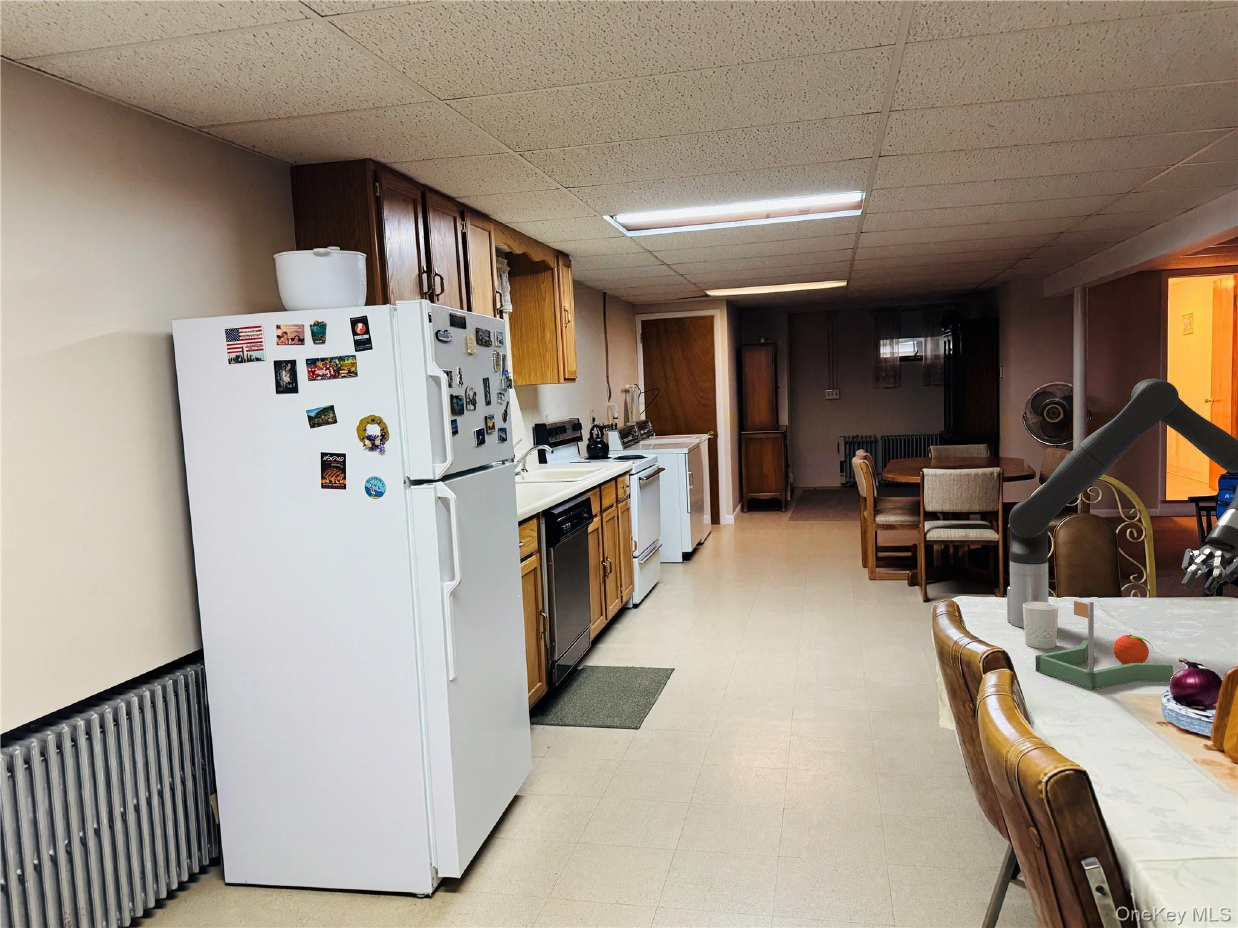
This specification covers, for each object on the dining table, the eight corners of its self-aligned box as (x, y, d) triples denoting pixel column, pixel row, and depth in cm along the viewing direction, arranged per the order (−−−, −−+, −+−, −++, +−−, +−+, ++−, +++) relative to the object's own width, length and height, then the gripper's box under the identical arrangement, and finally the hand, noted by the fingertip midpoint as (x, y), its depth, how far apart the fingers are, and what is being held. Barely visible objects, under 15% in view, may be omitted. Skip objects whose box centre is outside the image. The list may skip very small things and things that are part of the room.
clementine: (1157, 665, 189) (1157, 634, 189) (1150, 673, 184) (1150, 641, 184) (1117, 658, 195) (1117, 628, 194) (1109, 666, 190) (1109, 635, 189)
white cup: (1044, 651, 202) (1044, 610, 201) (1015, 644, 209) (1015, 604, 208) (1065, 646, 206) (1065, 606, 205) (1036, 638, 213) (1036, 600, 212)
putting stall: (1022, 665, 193) (1021, 586, 191) (1085, 653, 199) (1085, 576, 198) (1107, 695, 172) (1107, 607, 171) (1175, 681, 179) (1175, 595, 177)
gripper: (1194, 519, 204) (1158, 574, 201) (1256, 527, 191) (1219, 585, 187) (1209, 539, 206) (1174, 593, 203) (1271, 547, 193) (1235, 605, 190)
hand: (1196, 589), depth 195 cm, fingers open, 4 cm apart
